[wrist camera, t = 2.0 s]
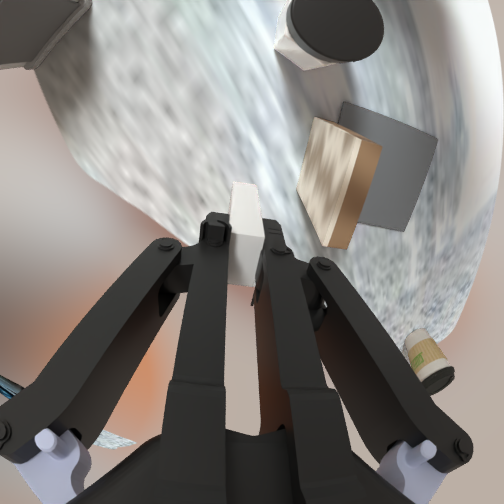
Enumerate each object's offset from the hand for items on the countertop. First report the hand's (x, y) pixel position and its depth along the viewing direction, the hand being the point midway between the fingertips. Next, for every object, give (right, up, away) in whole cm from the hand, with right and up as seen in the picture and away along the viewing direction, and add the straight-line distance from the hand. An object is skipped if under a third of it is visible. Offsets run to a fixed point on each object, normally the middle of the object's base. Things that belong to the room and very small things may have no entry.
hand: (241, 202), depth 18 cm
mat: (+19, +8, +17) cm, 26 cm away
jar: (+7, +22, +8) cm, 24 cm away
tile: (+9, +9, +16) cm, 20 cm away
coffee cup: (+40, -23, +39) cm, 61 cm away
